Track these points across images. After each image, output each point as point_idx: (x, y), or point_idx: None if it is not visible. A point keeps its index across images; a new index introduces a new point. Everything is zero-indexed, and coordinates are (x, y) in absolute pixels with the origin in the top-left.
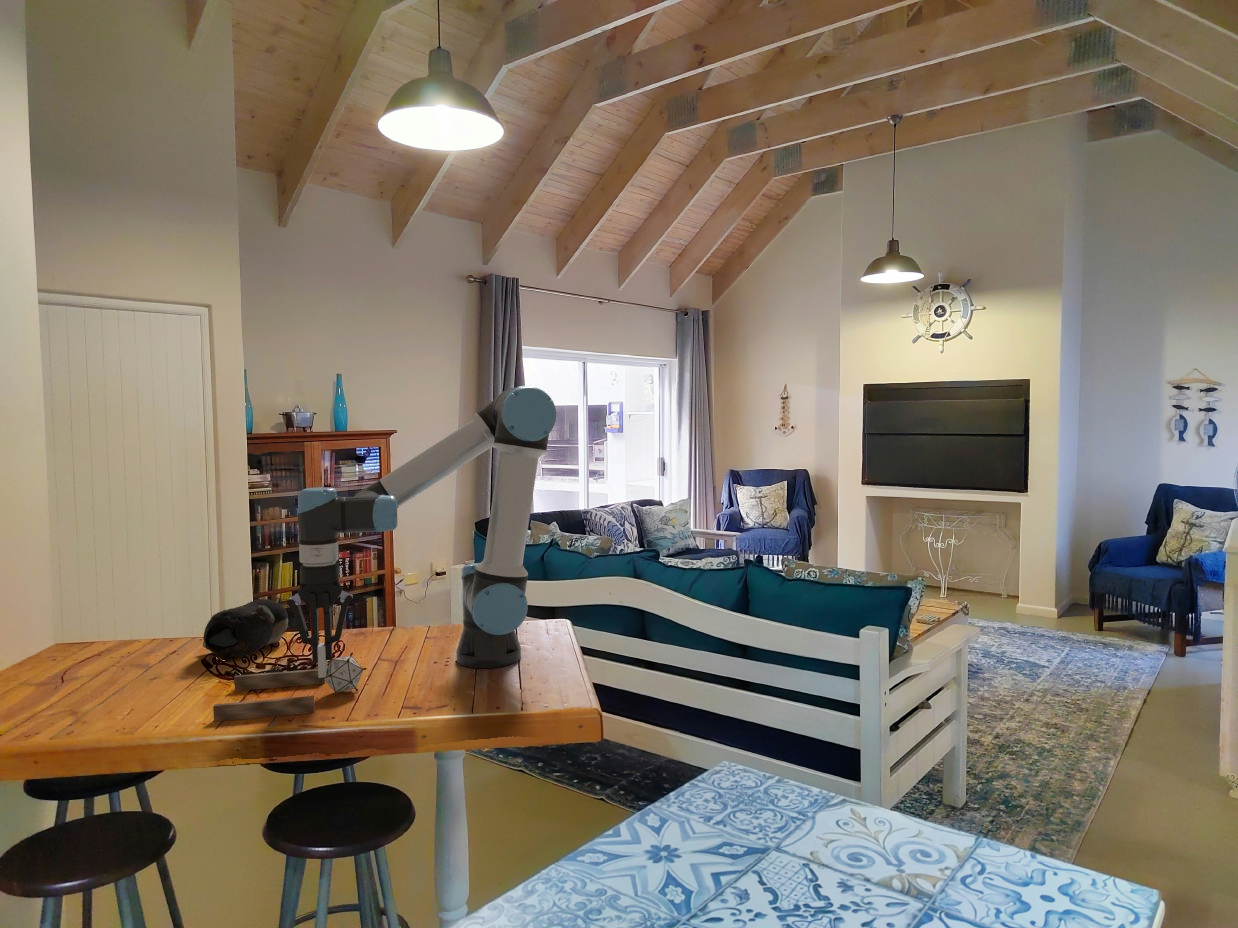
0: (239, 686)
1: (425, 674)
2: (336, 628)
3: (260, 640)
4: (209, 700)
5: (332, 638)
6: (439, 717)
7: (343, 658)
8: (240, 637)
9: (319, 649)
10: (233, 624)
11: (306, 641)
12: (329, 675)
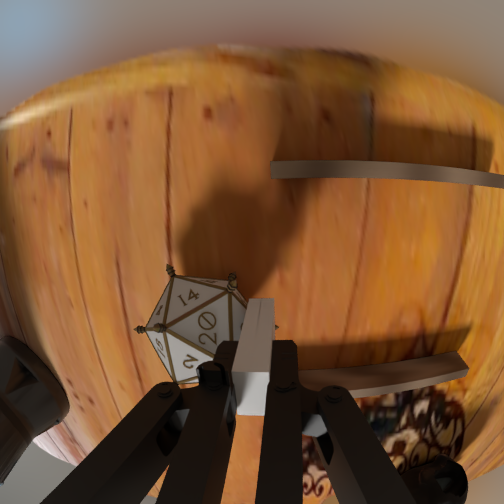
0: (452, 357)
1: (80, 353)
2: (145, 432)
3: None
4: (493, 305)
5: (190, 402)
6: (21, 114)
7: (188, 359)
8: (432, 483)
9: (260, 361)
10: (446, 498)
11: (326, 393)
12: (230, 282)
